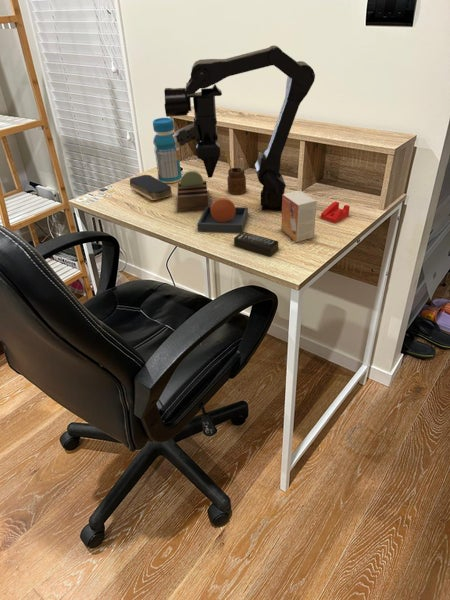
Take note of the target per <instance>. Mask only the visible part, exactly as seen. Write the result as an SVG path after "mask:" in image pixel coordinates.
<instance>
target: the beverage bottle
mask: <svg viewBox="0 0 450 600" xmlns="http://www.w3.org/2000/svg"><path fill="white" fill-rule="evenodd" d="M152 128H153V132H154V133H155V134H154V136H153V139H152V140H153V141H152V144H153V145H154V147H153V153H154V155H155V161H156V170H157V179H158V180H159V181H161V182H163V183H165V184H174V183H179V182H180V181H181V177H182V175H183V174H182V169H181V162H180V161H181V160H180V145H179V144H178V142H177V139H176V136H175V131H174V130H175V123H174V119H173V118H171V117H159V118H155V119H153V120H152Z"/></svg>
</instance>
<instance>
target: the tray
mask: <svg viewBox="0 0 450 600" xmlns="http://www.w3.org/2000/svg"><path fill="white" fill-rule="evenodd" d="M235 209H236V213H235V216H234V217H233V218H232V219H231V220H230V221H228V222H224V223H221V222H218V221H216V220H214V219H213V217H212V215H211V205H210V206H206V208H205V210H204V211H202V214H201V216H200V218H199V220H198V222H197V232H199V233H200V232H203V233H227V234H228V233H229V234H240V233H241V232H244V229H245V227H246V223H247V220H248V216H249V207H248V206H247V207H246V206H245V207H244V206H243V207H242V206H235Z"/></svg>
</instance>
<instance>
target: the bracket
mask: <svg viewBox="0 0 450 600" xmlns="http://www.w3.org/2000/svg"><path fill="white" fill-rule="evenodd" d="M350 207H351V206H350V205H348V204H344V205H343V208H340V202H339V201H336V200H335V201H333V202H331V203H330V204H329V205H328V207H326V208H325V209H324V210H323V211H322V212H321V213H320V219H321V220H323V221H324V220H325V221H326V222H330V223H333V224H337V223H338V222H340V221H341V220H344V219H345V218H347V217H349V216H350V209H351V208H350Z"/></svg>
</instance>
